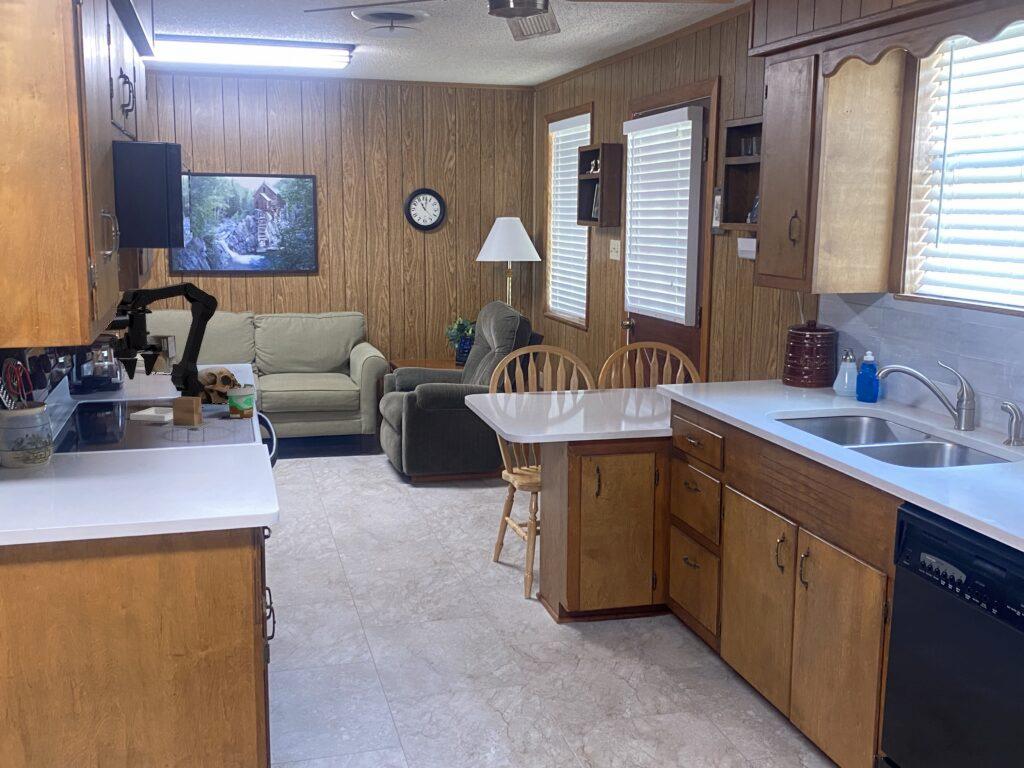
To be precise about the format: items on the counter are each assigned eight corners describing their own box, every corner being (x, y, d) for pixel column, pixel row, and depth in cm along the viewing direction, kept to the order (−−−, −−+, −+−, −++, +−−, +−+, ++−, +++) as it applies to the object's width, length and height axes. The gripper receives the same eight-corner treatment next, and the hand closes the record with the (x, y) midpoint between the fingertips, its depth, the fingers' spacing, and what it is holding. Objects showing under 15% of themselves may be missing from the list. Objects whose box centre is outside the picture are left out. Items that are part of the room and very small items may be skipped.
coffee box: (178, 373, 416) (176, 335, 414) (170, 375, 410) (168, 336, 408) (158, 372, 418) (156, 334, 416) (150, 374, 412) (148, 336, 409)
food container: (246, 421, 310) (244, 389, 308) (228, 420, 311) (226, 389, 310) (263, 414, 322) (262, 384, 320) (246, 413, 323) (244, 383, 322)
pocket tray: (153, 414, 322) (153, 407, 321) (186, 415, 319) (186, 408, 319) (130, 421, 309) (129, 414, 309) (164, 423, 307) (164, 415, 306)
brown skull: (249, 402, 343) (243, 364, 341) (198, 411, 336) (192, 373, 334) (241, 397, 357) (235, 361, 355) (192, 406, 350) (186, 369, 348)
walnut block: (181, 422, 304) (180, 396, 303) (202, 422, 303) (200, 397, 301) (173, 424, 300) (172, 398, 298) (194, 425, 298) (193, 399, 297)
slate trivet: (179, 422, 307) (179, 420, 307) (214, 424, 305) (214, 421, 305) (161, 428, 297) (161, 426, 297) (197, 430, 295) (197, 427, 295)
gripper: (131, 325, 322) (134, 372, 324) (96, 330, 304) (99, 380, 306) (162, 326, 319) (164, 373, 322) (128, 331, 301) (131, 382, 304)
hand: (139, 377), depth 313 cm, fingers open, 9 cm apart
